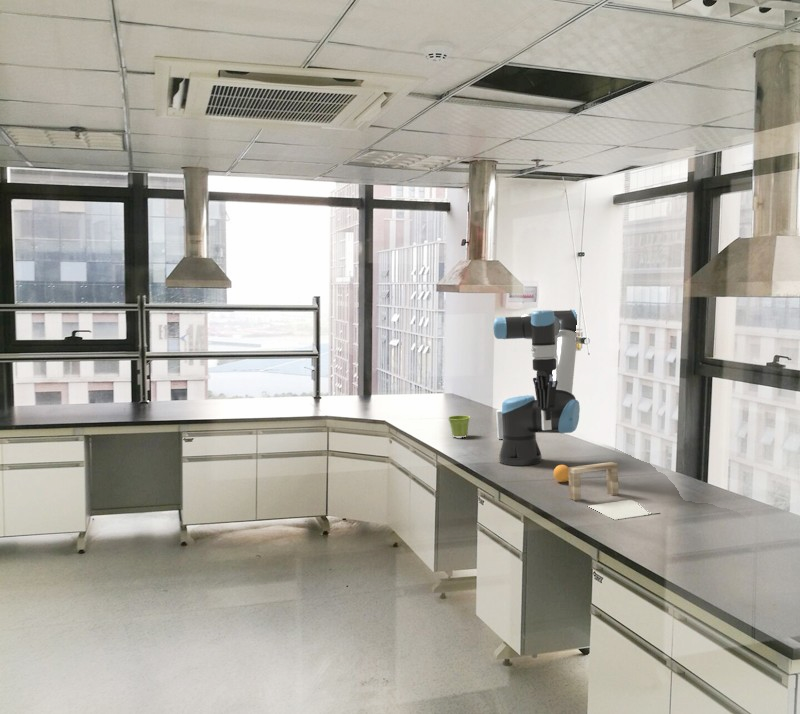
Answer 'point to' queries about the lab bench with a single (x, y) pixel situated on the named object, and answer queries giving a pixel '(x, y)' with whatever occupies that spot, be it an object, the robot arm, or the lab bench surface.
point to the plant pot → (459, 425)
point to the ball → (561, 473)
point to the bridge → (575, 471)
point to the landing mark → (620, 509)
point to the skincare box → (499, 424)
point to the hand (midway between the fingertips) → (546, 429)
